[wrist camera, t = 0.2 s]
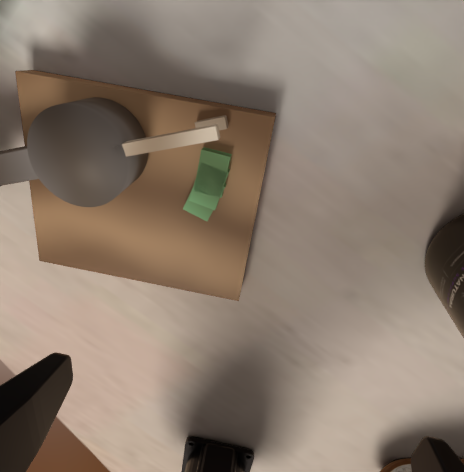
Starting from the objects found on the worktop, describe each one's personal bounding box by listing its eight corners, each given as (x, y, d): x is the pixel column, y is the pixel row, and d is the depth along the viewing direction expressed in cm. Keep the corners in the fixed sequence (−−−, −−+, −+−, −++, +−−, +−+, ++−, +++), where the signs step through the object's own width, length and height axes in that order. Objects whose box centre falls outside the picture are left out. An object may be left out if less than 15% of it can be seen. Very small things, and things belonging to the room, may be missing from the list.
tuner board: (240, 287, 25) (237, 306, 23) (52, 250, 26) (34, 265, 24) (275, 113, 19) (275, 119, 18) (33, 70, 20) (7, 71, 18)
